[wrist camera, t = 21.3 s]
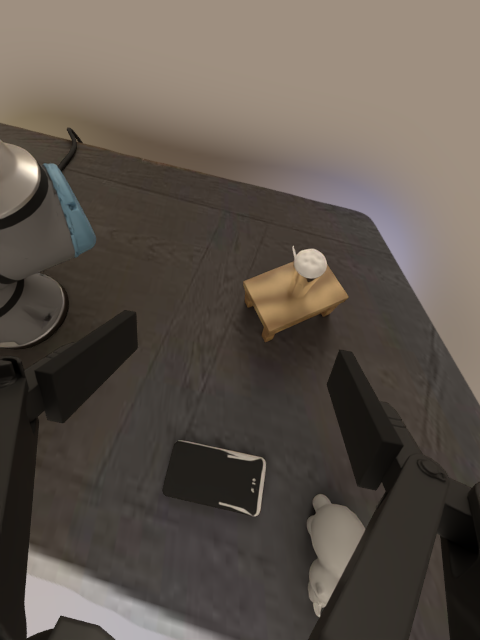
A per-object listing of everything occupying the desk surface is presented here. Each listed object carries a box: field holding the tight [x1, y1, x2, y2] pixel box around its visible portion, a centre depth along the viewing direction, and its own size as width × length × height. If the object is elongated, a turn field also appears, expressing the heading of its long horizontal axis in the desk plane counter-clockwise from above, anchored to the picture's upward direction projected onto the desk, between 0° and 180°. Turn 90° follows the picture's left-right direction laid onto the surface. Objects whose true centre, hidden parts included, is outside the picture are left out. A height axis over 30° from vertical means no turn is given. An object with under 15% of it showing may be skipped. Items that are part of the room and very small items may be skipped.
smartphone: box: [163, 440, 266, 516], centre depth 38 cm, size 8×1×15 cm
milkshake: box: [288, 246, 327, 299], centre depth 37 cm, size 4×5×10 cm
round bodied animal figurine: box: [307, 494, 365, 617], centre depth 32 cm, size 7×12×8 cm, turn 151°
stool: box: [243, 262, 349, 342], centre depth 45 cm, size 10×15×8 cm, turn 114°
